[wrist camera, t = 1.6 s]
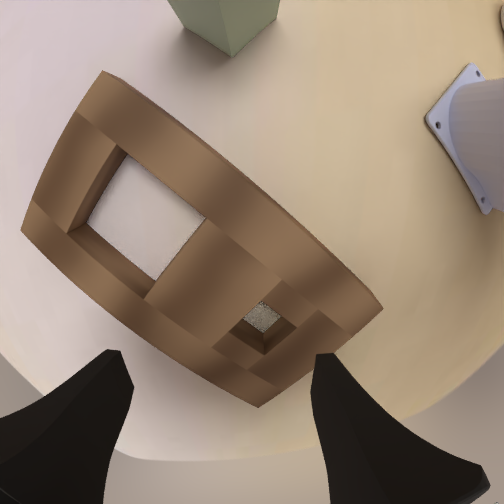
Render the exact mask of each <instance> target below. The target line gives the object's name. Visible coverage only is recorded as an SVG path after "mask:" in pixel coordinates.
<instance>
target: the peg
mask: <svg viewBox="0 0 504 504" xmlns="http://www.w3.org/2000/svg"><path fill="white" fill-rule="evenodd" d="M167 1H168V2H169V4H170V5H171V7H172V8H173V10H174V12H175V13H176V15H177V16H178V18H179V20H180V21H181V23H182V24H183V26H184V27H185V28H187V29H189V30H190V31H192V32H194V33H195V34H197V35H198V36H200V37H202V38H203V39H205V40H206V41H208V42H209V43H211V44H212V45H214V46H216V47H217V48H219V49H220V50H221V51H223V52H224V53H226V54H227V55H229V56H230V57H232V58H233V57H234V56H235V55H236V54H237V53H238V52H239V51H240V50H241V49H242V48H243V47H244V46H245V45H246V44H247V43H248V42H250V41H251V40H252V39H253V38H254V37H255V36H256V35H257V34H258V33H260V32H261V31H262V30H263V29H264V28H265V27H266V26H268V25H269V24H270V23H271V22H272V21H274V20H275V19H276V18H277V13H278V8H279V2H280V0H167Z"/></svg>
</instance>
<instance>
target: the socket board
mask: <svg viewBox="0 0 504 504" xmlns="http://www.w3.org/2000/svg"><path fill="white" fill-rule="evenodd" d="M127 154H129V155H130V156H131V157H133V158H134V159H135V160H136V161H138V162H139V163H140V164H141V165H142V166H144V167H145V168H146V169H147V170H149V171H150V172H151V173H152V174H153V175H155V176H156V177H157V178H158V179H159V180H161V181H162V182H163V183H164V184H166V185H167V186H168V187H169V188H170V189H172V190H173V191H174V192H175V193H177V194H178V195H179V196H180V197H181V198H183V199H184V200H185V201H186V202H188V203H189V204H190V205H191V206H192V207H194V208H195V209H196V210H197V211H199V212H200V213H201V214H202V215H203V216H205V217H206V218H205V220H204V221H203V222H202V223H201V225H200V226H199V227H198V228H197V229H196V231H195V232H194V233H193V234H192V236H191V237H190V238H189V239H188V241H187V242H186V243H185V244H184V245H183V247H182V248H181V249H180V251H179V252H178V253H177V254H176V256H175V257H174V258H173V259H172V261H171V262H170V263H169V265H168V266H167V267H166V268H165V270H164V271H163V272H162V274H161V275H160V276H159V277H158V279H157V280H156V281H154V280H153V279H152V278H151V277H149V276H148V275H147V274H145V273H144V272H143V271H142V270H140V269H139V268H138V267H137V266H136V265H134V264H133V263H132V262H131V261H129V260H128V259H127V258H126V257H125V256H123V255H122V254H121V253H120V252H119V251H117V250H116V249H115V248H114V247H113V246H112V245H110V244H109V243H108V242H107V241H106V240H105V239H103V238H102V237H101V236H100V235H99V234H98V233H97V232H95V231H94V230H93V229H92V228H91V227H90V226H89V225H88V224H87V223H86V222H87V220H88V218H89V216H90V214H91V212H92V210H93V209H94V207H95V205H96V203H97V202H98V200H99V198H100V196H101V195H102V193H103V191H104V190H105V188H106V186H107V185H108V183H109V181H110V180H111V178H112V177H113V175H114V173H115V172H116V170H117V169H118V167H119V166H120V164H121V163H122V161H123V160H124V158H125V157H126V155H127ZM21 231H22V233H23V234H24V235H25V236H26V237H27V238H28V239H29V240H30V241H31V242H32V243H33V244H34V245H35V246H36V247H37V248H38V249H39V250H40V251H41V252H42V253H43V255H44V256H46V257H47V258H48V259H49V260H50V261H51V262H52V263H53V264H54V265H55V266H56V267H57V268H58V269H59V270H60V271H61V272H62V273H63V274H64V275H65V276H66V277H68V278H69V279H70V280H71V281H72V282H73V283H74V284H75V285H76V286H78V287H79V288H80V289H81V290H82V291H83V292H84V293H86V294H87V295H88V296H89V297H90V298H91V299H93V300H94V301H95V302H96V303H97V304H99V305H100V306H101V307H102V308H104V309H105V310H106V311H107V312H109V313H110V314H111V315H112V316H114V317H115V318H116V319H117V320H119V321H120V322H121V323H123V324H124V325H125V326H127V327H128V328H129V329H131V330H132V331H133V332H135V333H136V334H137V335H139V336H140V337H142V338H143V339H144V340H146V341H147V342H149V343H150V344H151V345H153V346H154V347H156V348H157V349H159V350H160V351H162V352H163V353H165V354H166V355H168V356H169V357H171V358H172V359H174V360H175V361H177V362H178V363H180V364H181V365H183V366H185V367H186V368H188V369H189V370H191V371H193V372H194V373H196V374H198V375H199V376H201V377H202V378H204V379H206V380H208V381H209V382H211V383H213V384H214V385H216V386H218V387H220V388H221V389H223V390H225V391H227V392H229V393H230V394H232V395H234V396H236V397H238V398H240V399H242V400H244V401H245V402H247V403H249V404H251V405H253V406H255V407H257V408H259V407H260V406H262V405H263V404H265V403H266V402H268V401H269V400H271V399H272V398H274V397H275V396H277V395H278V394H280V393H281V392H283V391H284V390H285V389H287V388H288V387H290V386H291V385H292V384H294V383H295V382H296V381H298V380H299V379H301V378H302V377H303V376H305V375H306V374H307V373H309V372H310V371H311V370H313V369H314V366H315V359H316V354H324V353H334V352H335V351H336V350H338V349H339V348H340V347H341V346H342V345H344V344H345V343H346V342H347V341H348V340H350V339H351V338H352V337H353V336H354V335H355V334H356V333H358V332H359V331H360V330H361V329H362V328H363V327H364V326H365V325H367V324H368V323H369V322H370V321H371V320H372V319H373V318H374V317H375V316H376V315H377V314H379V313H380V312H381V311H382V310H383V309H384V308H383V307H382V306H381V304H380V303H379V301H378V300H377V299H376V297H375V296H374V295H373V293H372V292H371V291H370V290H369V289H368V288H367V287H366V286H365V285H364V284H363V283H362V282H361V281H360V280H359V279H358V278H357V277H356V276H355V275H354V274H353V273H352V272H351V271H350V270H349V269H348V268H347V267H346V266H345V265H344V264H343V263H342V262H341V261H340V260H339V259H338V258H337V257H336V256H335V255H334V254H333V253H331V252H330V251H329V250H328V249H327V248H326V247H325V246H324V245H323V244H322V243H321V242H320V241H319V240H318V239H317V238H316V237H314V236H313V235H312V234H311V233H310V232H309V231H308V230H307V229H306V228H305V227H304V226H302V225H301V224H300V223H299V222H298V221H297V220H296V219H295V218H294V217H293V216H291V215H290V214H289V213H288V212H287V211H286V210H285V209H284V208H282V207H281V206H280V205H279V204H278V203H277V202H276V201H275V200H273V199H272V198H271V197H270V196H269V195H268V194H267V193H265V192H264V191H263V190H262V189H261V188H260V187H259V186H257V185H256V184H255V183H254V182H253V181H252V180H250V179H249V178H248V177H247V176H246V175H244V174H243V173H242V172H241V171H240V170H239V169H237V168H236V167H235V166H234V165H233V164H231V163H230V162H229V161H228V160H227V159H225V158H224V157H223V156H222V155H220V154H219V153H218V152H217V151H216V150H214V149H213V148H212V147H211V146H209V145H208V144H207V143H206V142H204V141H203V140H202V139H201V138H199V137H198V136H197V135H196V134H194V133H193V132H192V131H191V130H189V129H188V128H187V127H185V126H184V125H183V124H182V123H180V122H179V121H178V120H176V119H175V118H174V117H172V116H171V115H170V114H169V113H167V112H166V111H165V110H163V109H162V108H161V107H159V106H158V105H157V104H155V103H154V102H153V101H151V100H150V99H149V98H147V97H146V96H144V95H143V94H142V93H140V92H139V91H138V90H136V89H135V88H133V87H132V86H131V85H129V84H128V83H126V82H125V81H124V80H122V79H121V78H119V77H116V76H114V75H112V74H110V73H107V72H105V71H103V70H102V72H101V73H100V74H99V76H98V77H97V79H96V80H95V81H94V83H93V84H92V86H91V87H90V89H89V90H88V92H87V93H86V95H85V96H84V98H83V99H82V101H81V102H80V104H79V105H78V107H77V109H76V110H75V112H74V113H73V115H72V117H71V119H70V120H69V122H68V124H67V125H66V127H65V129H64V131H63V133H62V134H61V136H60V138H59V140H58V142H57V144H56V146H55V148H54V150H53V152H52V154H51V156H50V158H49V160H48V162H47V164H46V166H45V168H44V170H43V173H42V175H41V177H40V179H39V182H38V184H37V186H36V189H35V191H34V194H33V196H32V199H31V201H30V204H29V207H28V209H27V212H26V215H25V218H24V221H23V224H22V227H21ZM260 301H262V302H264V303H265V304H266V305H268V306H269V307H270V308H272V309H273V310H274V311H276V312H277V313H278V314H280V315H281V316H282V317H281V318H280V319H279V320H278V321H276V322H275V323H274V324H273V325H272V326H271V327H270V328H269V329H268V330H266V331H265V332H264V333H262V332H260V331H259V330H258V329H256V328H255V327H253V326H252V325H250V324H249V323H248V322H246V321H245V320H243V319H242V318H243V317H244V316H245V315H246V314H247V313H248V312H249V311H250V310H251V309H253V308H254V307H255V306H256V305H257V304H258V303H259V302H260Z"/></svg>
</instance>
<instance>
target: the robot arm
mask: <svg viewBox="0 0 504 504" xmlns="http://www.w3.org/2000/svg"><path fill="white" fill-rule="evenodd" d="M476 74H477V75H476ZM426 122H427V124H428V125H429V127H430V128H431V129H432V131H433V132H434V133H435V135H436V136H437V138H438V139H439V140H440V142H441V143H442V145H443V146H444V148H445V149H446V151H447V152H448V154H449V155H450V157H451V158H452V160H453V162H454V163H455V165H456V166H457V168H458V170H459V171H460V173H461V175H462V176H463V178H464V180H465V182H466V183H467V185H468V187H469V189H470V190H471V192H472V194H473V196H474V198H475V200H476V202H477V204H478V206H479V208H480V210H481V212H482V213H483V214H485V215H488V214H489V213H490V211H491V210H492V208H494V209H497V210H499V211H502V212H504V78H500V79H492V80H485V78H484V76H483V75H482V73H481V72H480V71H479V69H478V68H477V66H476V65H475V64H474V63H469V64H468V65H467V66H466V67H465V68H464V70H463V71H462V72H461V73H460V75H459V76H458V77H457V78H456V80H455V81H454V82H453V83H452V84H451V86H450V87H449V88H448V89H447V91H446V92H445V93H444V94H443V95H442V97H441V98H440V99H439V100H438V101H437V103H436V104H435V105H434V106H433V107H432V109H431V110H430V111H429V112H428V113H427V115H426ZM436 123H437V124H438V128H436ZM481 198H482V200H481ZM133 391H134V385H133V383H132V380H131V378H130V375H129V373H128V370H127V368H126V365H125V362H124V360H123V357H122V354H121V351H118V350H110V349H107V350H105V351H104V352H102V353H101V354H100V355H98V356H97V357H96V358H95V359H93V360H92V361H91V362H89V363H88V364H87V365H86V366H85V367H83V368H82V369H81V370H79V371H78V372H77V373H76V374H74V375H73V376H72V377H71V378H69V379H68V380H67V381H65V382H64V383H63V384H61V385H60V386H58V387H57V388H56V389H54V390H53V391H52V392H50V393H49V394H47V395H46V396H44V397H43V398H41V399H40V400H38V401H36V402H34V403H32V404H31V405H29V406H27V407H25V408H23V409H21V410H19V411H17V412H14V413H12V414H10V415H7V416H5V417H3V418H0V504H103V498H104V490H105V483H106V477H107V472H108V468H109V463H110V459H111V456H112V452H113V450H114V447H115V444H116V442H117V439H118V437H119V434H120V431H121V429H122V426H123V424H124V421H125V419H126V416H127V413H128V411H129V407H130V404H131V400H132V395H133ZM310 393H311V401H312V409H313V416H314V420H315V424H316V428H317V432H318V436H319V440H320V444H321V447H322V451H323V456H324V460H325V464H326V469H327V474H328V483H329V492H330V502H331V504H470V503H472V502H473V501H475V500H476V499H477V498H479V497H480V496H481V495H483V494H484V493H485V492H486V491H487V490H488V489H489V488H490V483H489V481H488V479H487V476H486V474H485V472H484V470H483V468H482V467H481V465H478V464H475V463H472V462H470V461H467V460H464V459H461V458H458V457H456V456H454V455H452V454H449V453H447V452H445V451H443V450H441V449H439V448H437V447H435V446H434V445H432V444H430V443H429V442H427V441H425V440H424V439H422V438H420V437H419V436H417V435H416V434H414V433H413V432H411V431H410V430H409V429H407V428H406V427H404V426H403V425H402V424H401V423H399V422H398V421H397V420H396V419H394V418H393V417H392V416H391V415H390V414H389V413H387V412H386V411H385V410H384V409H383V408H382V407H381V406H380V405H379V404H378V403H377V402H376V401H375V400H374V399H373V398H372V397H371V396H370V395H369V394H368V393H367V392H366V391H365V390H364V389H363V388H362V386H361V385H360V384H359V383H358V382H357V381H356V380H355V379H354V377H353V376H352V375H351V374H350V373H349V371H348V370H347V369H346V368H345V367H344V365H343V364H342V363H341V362H340V360H339V359H338V358H337V356H336V355H335V354H334V353H324V354H316V359H315V366H314V372H313V379H312V385H311V391H310ZM495 504H499V503H498V502H496V503H495Z"/></svg>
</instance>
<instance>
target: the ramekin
mask: <svg viewBox="0 0 504 504" xmlns="http://www.w3.org/2000/svg"><path fill="white" fill-rule="evenodd" d="M501 24H502V28H503V32H504V5H503V6H502V9H501Z"/></svg>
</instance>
